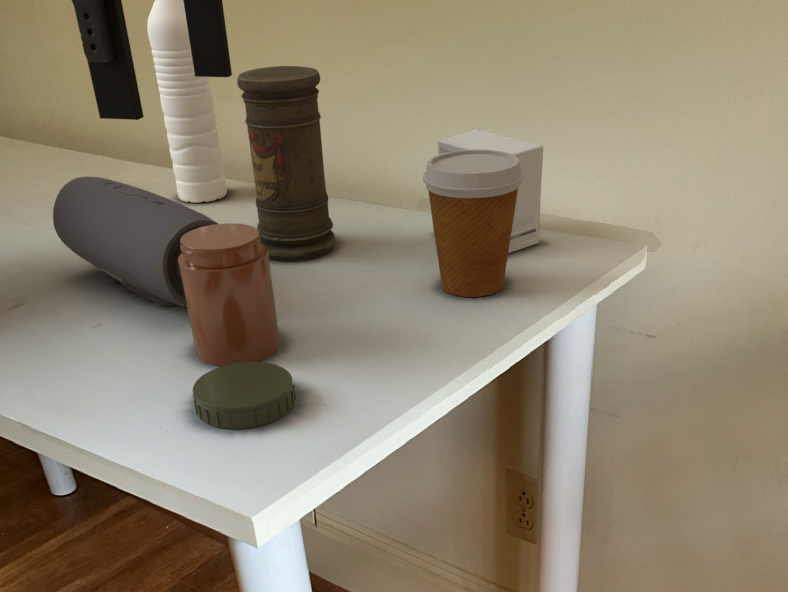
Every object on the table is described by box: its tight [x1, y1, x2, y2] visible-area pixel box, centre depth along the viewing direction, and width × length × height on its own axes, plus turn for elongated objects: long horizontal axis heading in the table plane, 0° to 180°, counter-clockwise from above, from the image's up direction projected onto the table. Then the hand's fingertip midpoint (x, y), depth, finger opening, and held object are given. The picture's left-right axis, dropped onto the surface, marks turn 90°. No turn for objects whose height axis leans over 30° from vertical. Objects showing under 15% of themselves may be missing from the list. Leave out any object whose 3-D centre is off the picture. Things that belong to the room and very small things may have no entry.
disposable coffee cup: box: [422, 150, 524, 298], centre depth 86 cm, size 10×10×12 cm
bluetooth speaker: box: [52, 176, 219, 308], centre depth 89 cm, size 23×9×10 cm, turn 43°
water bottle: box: [146, 0, 228, 204], centre depth 111 cm, size 9×6×25 cm
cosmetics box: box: [437, 128, 544, 254], centre depth 98 cm, size 10×6×10 cm, turn 37°
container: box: [236, 65, 336, 262], centre depth 95 cm, size 9×9×18 cm
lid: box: [192, 361, 297, 430], centre depth 71 cm, size 8×8×2 cm
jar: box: [178, 223, 281, 367], centre depth 77 cm, size 8×8×10 cm
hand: (171, 95), depth 62 cm, fingers open, 13 cm apart
